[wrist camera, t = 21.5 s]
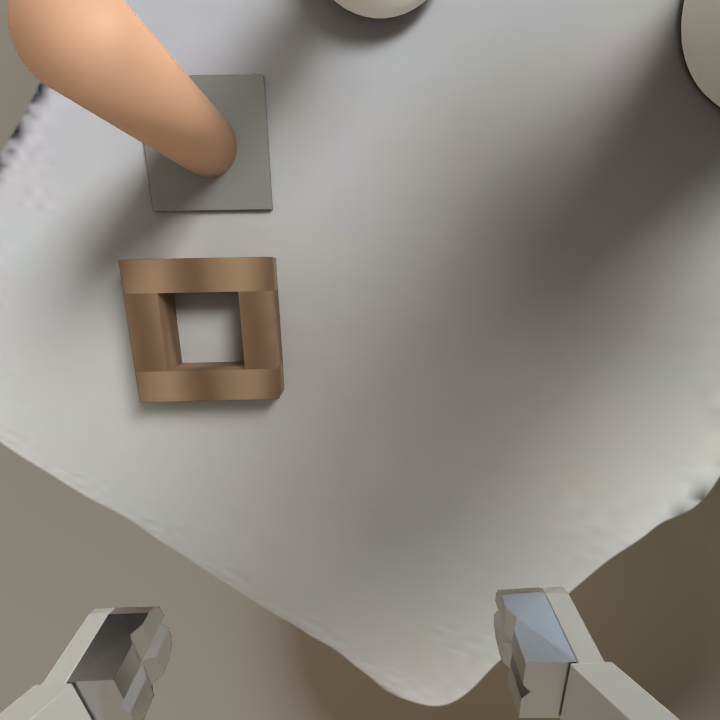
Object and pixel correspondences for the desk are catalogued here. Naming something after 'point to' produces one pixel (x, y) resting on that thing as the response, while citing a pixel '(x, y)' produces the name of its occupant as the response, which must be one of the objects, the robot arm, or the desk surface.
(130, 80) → the peg
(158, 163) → the mat
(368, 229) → the desk surface
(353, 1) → the flower in vase
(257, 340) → the holder
